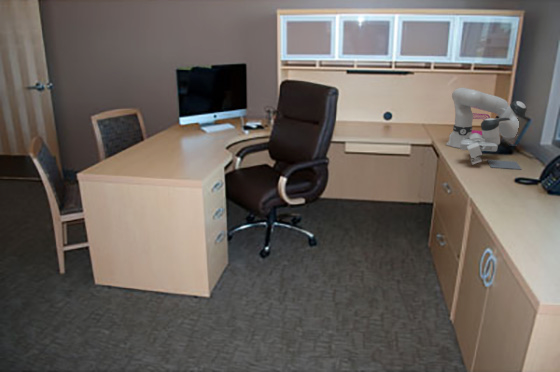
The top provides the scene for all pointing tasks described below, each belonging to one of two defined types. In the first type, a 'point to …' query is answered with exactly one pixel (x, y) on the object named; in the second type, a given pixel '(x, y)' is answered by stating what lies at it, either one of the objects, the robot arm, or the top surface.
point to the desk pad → (504, 164)
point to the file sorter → (479, 118)
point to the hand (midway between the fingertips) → (479, 149)
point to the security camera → (475, 153)
